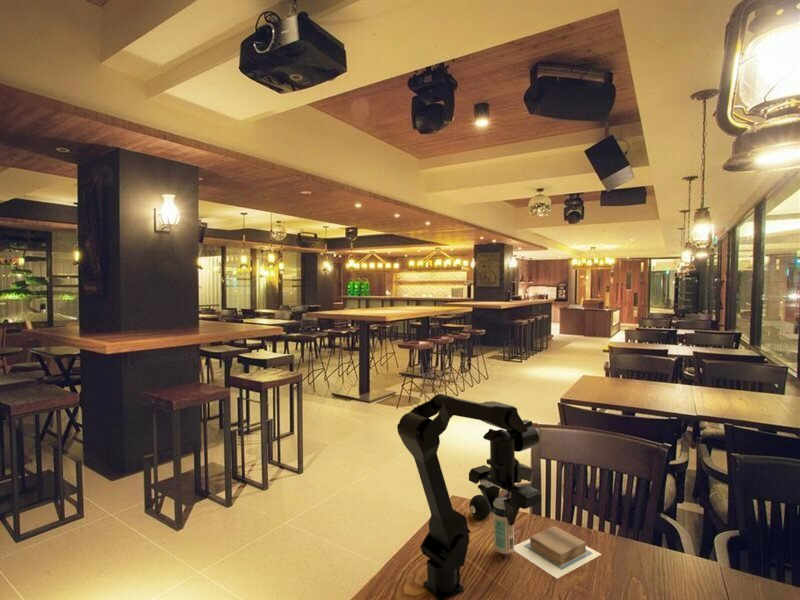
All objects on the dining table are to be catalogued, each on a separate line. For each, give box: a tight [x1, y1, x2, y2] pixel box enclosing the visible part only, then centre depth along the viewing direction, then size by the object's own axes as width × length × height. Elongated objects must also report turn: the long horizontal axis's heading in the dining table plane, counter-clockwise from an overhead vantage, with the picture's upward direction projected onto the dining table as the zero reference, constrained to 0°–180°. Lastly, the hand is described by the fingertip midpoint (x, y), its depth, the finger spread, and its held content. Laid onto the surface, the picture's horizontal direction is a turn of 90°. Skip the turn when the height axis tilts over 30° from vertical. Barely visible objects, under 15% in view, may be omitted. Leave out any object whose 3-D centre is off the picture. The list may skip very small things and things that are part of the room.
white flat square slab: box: [513, 538, 602, 579], centre depth 107 cm, size 16×14×1 cm
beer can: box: [492, 496, 515, 555], centre depth 106 cm, size 5×5×12 cm
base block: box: [529, 525, 587, 565], centre depth 108 cm, size 9×9×2 cm
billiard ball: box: [468, 494, 492, 519], centre depth 125 cm, size 6×6×6 cm
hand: (503, 520), depth 106 cm, fingers closed on beer can, 5 cm apart
